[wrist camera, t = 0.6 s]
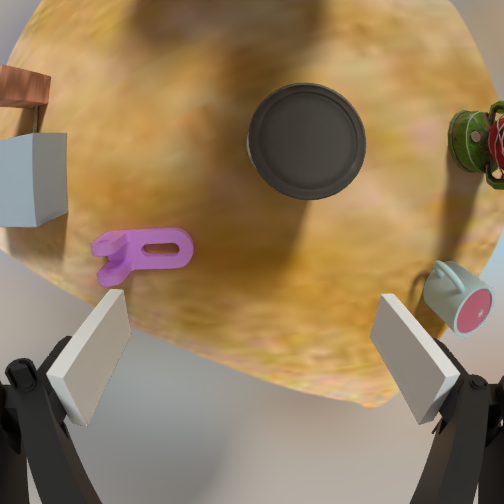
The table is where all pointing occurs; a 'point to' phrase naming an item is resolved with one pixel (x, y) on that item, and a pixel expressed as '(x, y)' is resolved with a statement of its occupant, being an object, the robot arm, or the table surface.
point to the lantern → (479, 142)
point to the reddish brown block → (23, 89)
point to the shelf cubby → (32, 179)
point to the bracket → (139, 252)
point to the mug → (458, 297)
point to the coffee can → (306, 141)
